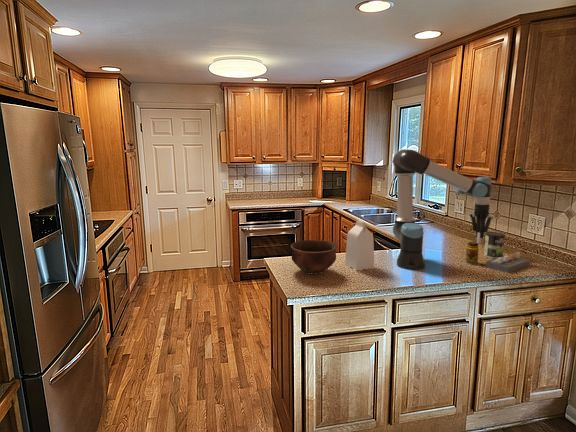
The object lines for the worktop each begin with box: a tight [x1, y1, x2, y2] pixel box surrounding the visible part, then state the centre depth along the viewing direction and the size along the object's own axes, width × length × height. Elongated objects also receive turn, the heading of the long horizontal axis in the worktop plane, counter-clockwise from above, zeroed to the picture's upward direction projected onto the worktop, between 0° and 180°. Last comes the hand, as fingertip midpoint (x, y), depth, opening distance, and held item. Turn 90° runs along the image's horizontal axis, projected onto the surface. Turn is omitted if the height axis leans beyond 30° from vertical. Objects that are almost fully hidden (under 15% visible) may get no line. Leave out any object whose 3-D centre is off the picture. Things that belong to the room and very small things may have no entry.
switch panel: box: [484, 254, 532, 274], centre depth 208 cm, size 24×12×3 cm, turn 122°
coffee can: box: [483, 231, 506, 259], centre depth 226 cm, size 10×10×14 cm
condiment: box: [461, 241, 481, 266], centre depth 214 cm, size 7×8×12 cm
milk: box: [344, 219, 375, 271], centre depth 208 cm, size 12×12×26 cm
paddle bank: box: [497, 251, 521, 264], centre depth 208 cm, size 21×1×3 cm, turn 122°
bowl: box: [290, 239, 338, 275], centre depth 201 cm, size 25×25×15 cm
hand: (479, 242), depth 222 cm, fingers closed
